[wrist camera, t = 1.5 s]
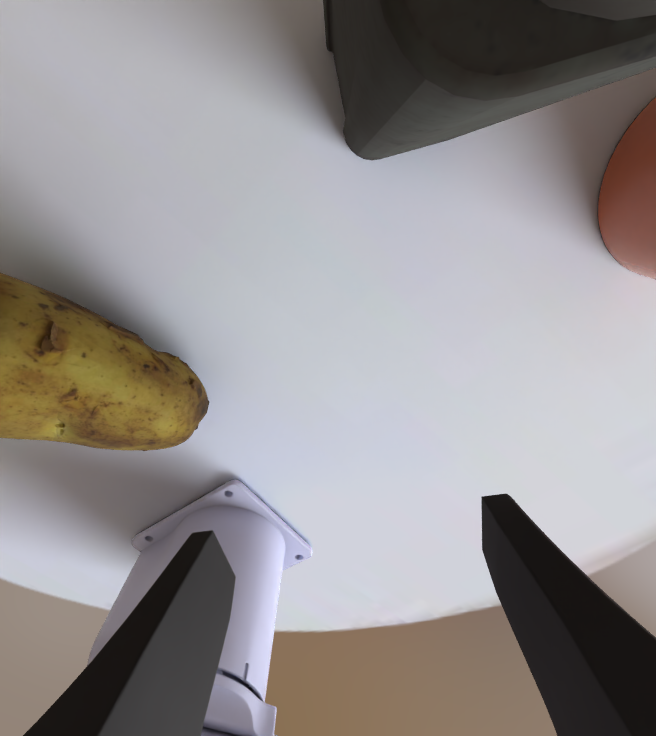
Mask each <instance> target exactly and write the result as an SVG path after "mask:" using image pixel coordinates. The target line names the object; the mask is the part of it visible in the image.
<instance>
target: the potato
mask: <svg viewBox="0 0 656 736" xmlns="http://www.w3.org/2000/svg"><path fill="white" fill-rule="evenodd" d="M208 405H209V401H208V397H207V394H206V391H205V388H204V386H203V385H202V383H201V381H200V380H199V378H198V377H197V376H196V374H195V373H194V372H193V371H192V370H191V369H190V368H189V366H188V365H187V363H184V362H183V361H181V360H180V359H179V357H176V356H173V355H171V354H169V353H166V352H158V351H156V350H154V349H152V348H151V347H149V346H148V345H146V344H145V343H144V342H143V340H142V339H141V338H140V337H139V336H138V335H137V334H135V333H133V332H131V331H129V330H127V329H124V328H122V327H120V326H118V325H116V324H114V323H112V322H111V321H109V320H107V319H105V318H104V317H102V316H100V315H98V314H96V313H94V312H92V311H90V310H88V309H86V308H84V307H82V306H80V305H78V304H76V303H74V302H72V301H70V300H68V299H66V298H64V297H61V296H59V295H57V294H54V293H52V292H49V291H47V290H44V289H42V288H39V287H37V286H34V285H31V284H29V283H26V282H23V281H21V280H18V279H16V278H13V277H10V276H8V275H5V274H3V273H0V438H14V439H30V440H49V441H57V442H67V443H73V444H79V445H84V446H89V447H94V448H101V449H113V450H143V451H147V450H157V449H164V448H169V447H173V446H176V445H179V444H181V443H183V442H185V441H186V440H187V439H188V438H189V437H190V436H191V435H192V433H193V432H194V430H196V429H197V428H198V424H199V422H200V421H201V420H202V419H203V417H204V416H205V414H206V413H207V409H208Z"/></svg>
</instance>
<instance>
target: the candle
mask: <svg viewBox="0 0 656 736" xmlns="http://www.w3.org/2000/svg"><path fill="white" fill-rule="evenodd" d="M323 5H324V20H325V35H326V47H327V50H328V51H331V52H332V53H333V55H334V60H335V65H336V71H337V76H338V81H339V86H340V92H341V97H342V102H343V107H344V113H345V123H344V129H343V133H344V137H345V140H346V143H347V144H348V146H349V147H350V149H351V150H352V151H353V152H354V153H355V154H356V155H357V156H359V157H361V158H363V159H368V160H377V159H382V158H386V157H389V156H393V155H396V154H400V153H403V152H407V151H410V150H414V149H418V148H421V147H425V146H428V145H432V144H435V143H439V142H442V141H446V140H449V139H452V138H455V137H458V136H461V135H464V134H467V133H469V132H472V131H475V130H478V129H481V128H484V127H487V126H489V125H492V124H495V123H498V122H501V121H504V120H507V119H510V118H512V117H515V116H518V115H521V114H524V113H527V112H530V111H532V110H535V109H538V108H541V107H544V106H547V105H550V104H553V103H555V102H558V101H561V100H564V99H567V98H570V97H573V96H575V95H578V94H581V93H584V92H587V91H590V90H593V89H596V88H598V87H601V86H604V85H607V84H610V83H613V82H616V81H618V80H621V79H624V78H627V77H630V76H633V75H636V74H639V73H641V72H644V71H647V70H650V69H653V68H656V0H323Z"/></svg>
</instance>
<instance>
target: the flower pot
mask: <svg viewBox="0 0 656 736" xmlns="http://www.w3.org/2000/svg"><path fill="white" fill-rule="evenodd" d="M598 220H599V228H600V231H601V235H602V238H603V241H604V243H605V245H606V247H607V249H608V250H609V252H610V253H611V255H612V256H613V257H614V258H615V259H616V260H617V261H618V262H619V263H620V264H621V265H622V266H624V267H625V268H627V269H628V270H630V271H632V272H635V273H637V274H639V275H643V276H646V277H649V278H652V279H655V280H656V97H655V98H654V99H653V100H652V101H651V102H650V103H649V104H648V105H647V106H646V107H645V108H644V110H643V111H642V112H641V113H640V114H639V115H638V116H637V117H636V119H635V120H634V121H633V123H632V124H631V125H630V127H629V128H628V129H627V131H626V132H625V134H624V135H623V137H622V139H621V140H620V142H619V143H618V145H617V147H616V149H615V151H614V153H613V155H612V157H611V159H610V161H609V164H608V166H607V169H606V171H605V174H604V177H603V181H602V185H601V188H600V195H599V201H598Z"/></svg>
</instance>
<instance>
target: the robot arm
mask: <svg viewBox="0 0 656 736" xmlns="http://www.w3.org/2000/svg"><path fill="white" fill-rule="evenodd" d="M227 490H228V491H231V492H228V491H227ZM131 543H132V545H133V546H134V547H135V548H136V549H137V550H139V551H140V552H141V553H140V555H139V557H138V558H137V560H136V562H135V564H134V566H133V568H132V570H131V572H130V574H129V576H128V578H127V580H126V581H125V583H124V585H123V587H122V589H121V591H120V593H119V595H118V597H117V599H116V601H115V603H114V604H113V606H112V608H111V610H110V612H109V614H108V616H107V618H106V620H105V622H104V624H103V626H102V628H101V629H100V631H99V633H98V635H97V637H96V639H95V641H94V644H93V646H92V649H91V652H90V655H89V659H88V664H87V667H86V668H85V669H84V671H83V672H82V673H81V674H80V675H79V676H78V677H77V679H76V680H75V681H74V682H73V683H72V684H71V685H70V686H69V688H68V689H67V690H66V691H65V692H64V693H63V694H62V695H61V696H60V697H59V699H57V701H56V702H55V703H54V704H53V705H52V706H51V707H50V708H49V709H48V710H47V711H46V712H45V714H44V715H43V716H42V717H41V718H40V719H39V720H38V721H37V722H36V723H35V724H34V725H33V726H32V727H31V728H30V729H29V730H28V731H27V732H26V733H25V734H24V735H23V736H277V735H274V729H275V720H276V711H277V709H276V707H275V706H272V705H269V704H267V703H265V695H266V688H267V680H268V673H269V666H270V658H271V651H272V643H273V635H274V628H275V621H276V614H277V606H278V599H279V591H280V584H281V576H282V570H285V569H287V568H289V567H291V566H293V565H295V564H297V563H300V562H302V561H304V560H306V559H308V558H310V557H311V556H312V552H313V550H312V547H311V546H310V545H309V544H307V543H306V542H305V541H304V540H303V539H302V538H301V537H300V536H299V535H298V534H297V533H296V532H295V531H293V530H292V529H291V528H290V527H289V526H288V525H287V524H286V523H285V522H284V521H283V520H282V519H281V518H280V517H278V516H277V515H276V514H275V513H274V512H273V511H272V510H271V509H270V508H269V507H268V506H267V505H266V504H264V503H263V502H262V501H261V500H260V499H259V498H258V497H257V496H256V495H255V494H254V493H253V492H252V491H250V490H249V489H248V488H247V487H246V486H245V485H244V484H243V483H242V482H240V481H238V480H231V481H229V482H227V483H226V484H224V485H222V486H220V487H219V488H217V489H215V490H213V491H212V492H210V493H208V494H207V495H205V496H203V497H201V498H200V499H198V500H196V501H194V502H193V503H191V504H189V505H188V506H186V507H184V508H182V509H181V510H179V511H177V512H175V513H174V514H172V515H170V516H169V517H167V518H165V519H163V520H162V521H160V522H158V523H157V524H155V525H153V526H151V527H150V528H148V529H146V530H144V531H143V532H141V533H139V534H138V535H136V536H135V537H134V538H133V540H132V542H131ZM482 550H483V553H484V556H485V559H486V563H487V566H488V569H489V572H490V575H491V578H492V581H493V584H494V587H495V590H496V593H497V595H498V597H499V600H500V602H501V604H502V607H503V609H504V611H505V614H506V616H507V618H508V620H509V623H510V625H511V627H512V630H513V632H514V634H515V636H516V639H517V641H518V643H519V646H520V648H521V650H522V652H523V655H524V657H525V659H526V661H527V664H528V666H529V668H530V671H531V673H532V675H533V677H534V679H535V682H536V684H537V686H538V689H539V691H540V693H541V695H542V698H543V700H544V703H545V705H546V707H547V709H548V712H549V715H550V717H551V720H552V722H553V725H554V727H555V730H556V733H557V736H656V637H654V636H653V635H652V634H651V633H650V632H648V631H647V630H646V629H645V628H644V627H643V626H642V625H640V624H639V623H638V622H637V621H636V620H635V619H634V618H632V617H631V616H630V615H629V614H628V613H627V612H626V611H624V610H623V609H622V608H621V607H620V606H619V605H618V604H617V603H616V602H614V601H613V600H612V599H611V598H610V597H609V596H608V595H607V594H606V593H605V592H604V591H603V590H601V589H600V588H599V587H598V586H597V585H596V584H595V583H594V582H593V581H592V580H591V579H590V578H589V577H588V576H587V575H586V574H585V573H584V572H583V571H581V570H580V569H579V568H578V567H577V566H576V565H575V564H574V563H573V562H572V561H571V560H570V559H569V558H568V557H567V556H566V555H565V554H564V553H563V552H562V551H561V550H560V549H559V548H558V547H557V546H556V545H555V544H554V543H553V542H552V541H551V540H550V539H549V538H548V537H547V536H546V535H545V534H544V532H543V531H542V530H541V529H540V528H539V527H538V526H537V525H536V524H535V523H534V522H533V521H532V520H531V519H530V518H529V516H528V515H527V514H526V513H525V512H524V511H523V510H522V509H521V508H520V507H519V505H518V504H517V503H516V502H515V501H514V500H513V499H512V497H511V496H509V495H508V494H500V495H492V496H484V497H482Z"/></svg>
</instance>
